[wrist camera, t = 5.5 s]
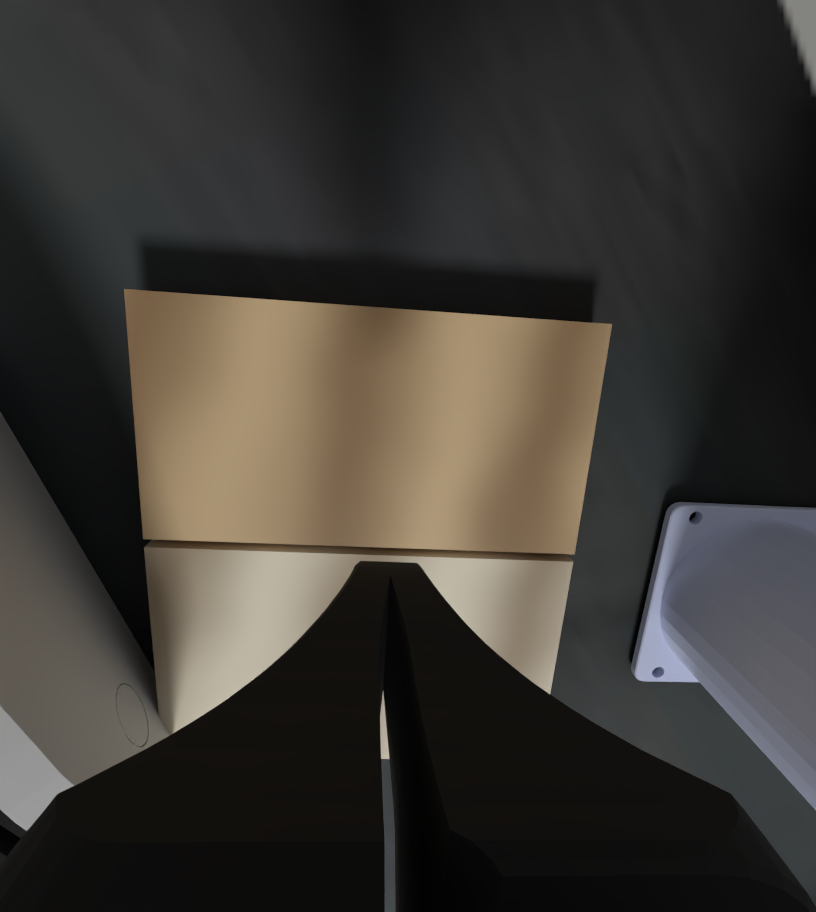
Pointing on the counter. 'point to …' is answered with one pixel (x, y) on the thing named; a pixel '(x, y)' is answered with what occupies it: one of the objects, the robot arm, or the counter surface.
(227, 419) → the plank
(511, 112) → the counter surface
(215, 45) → the counter surface
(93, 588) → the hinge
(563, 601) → the floor board
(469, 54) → the counter surface
